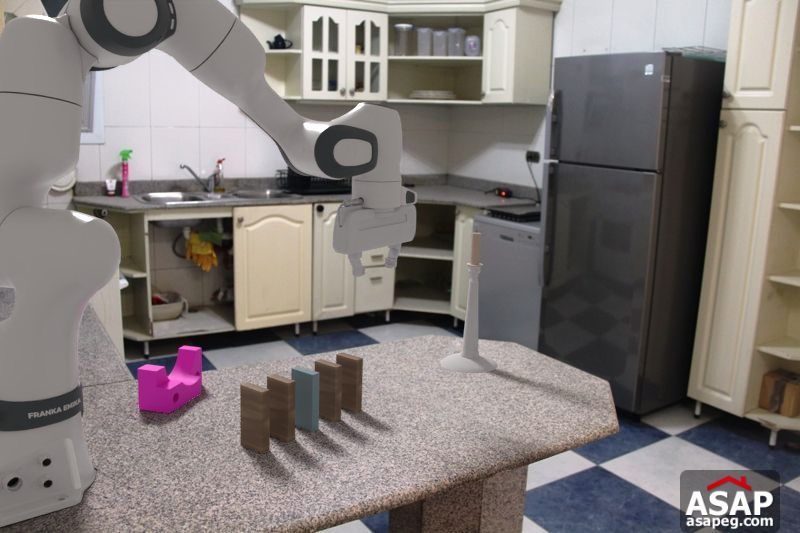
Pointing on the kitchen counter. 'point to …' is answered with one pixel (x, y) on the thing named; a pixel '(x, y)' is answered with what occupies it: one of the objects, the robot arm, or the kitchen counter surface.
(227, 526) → the kitchen counter surface
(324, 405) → the domino
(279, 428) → the domino
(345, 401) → the domino
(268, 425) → the domino
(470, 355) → the candlestick
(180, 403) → the toy block
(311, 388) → the domino
